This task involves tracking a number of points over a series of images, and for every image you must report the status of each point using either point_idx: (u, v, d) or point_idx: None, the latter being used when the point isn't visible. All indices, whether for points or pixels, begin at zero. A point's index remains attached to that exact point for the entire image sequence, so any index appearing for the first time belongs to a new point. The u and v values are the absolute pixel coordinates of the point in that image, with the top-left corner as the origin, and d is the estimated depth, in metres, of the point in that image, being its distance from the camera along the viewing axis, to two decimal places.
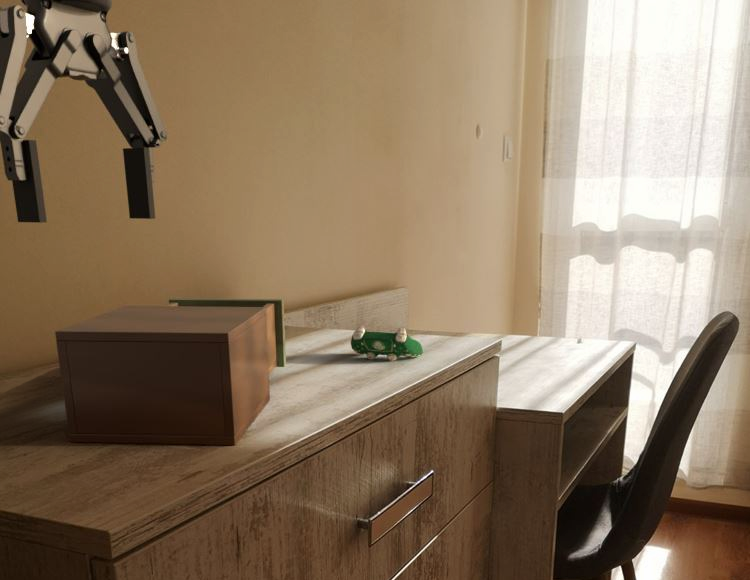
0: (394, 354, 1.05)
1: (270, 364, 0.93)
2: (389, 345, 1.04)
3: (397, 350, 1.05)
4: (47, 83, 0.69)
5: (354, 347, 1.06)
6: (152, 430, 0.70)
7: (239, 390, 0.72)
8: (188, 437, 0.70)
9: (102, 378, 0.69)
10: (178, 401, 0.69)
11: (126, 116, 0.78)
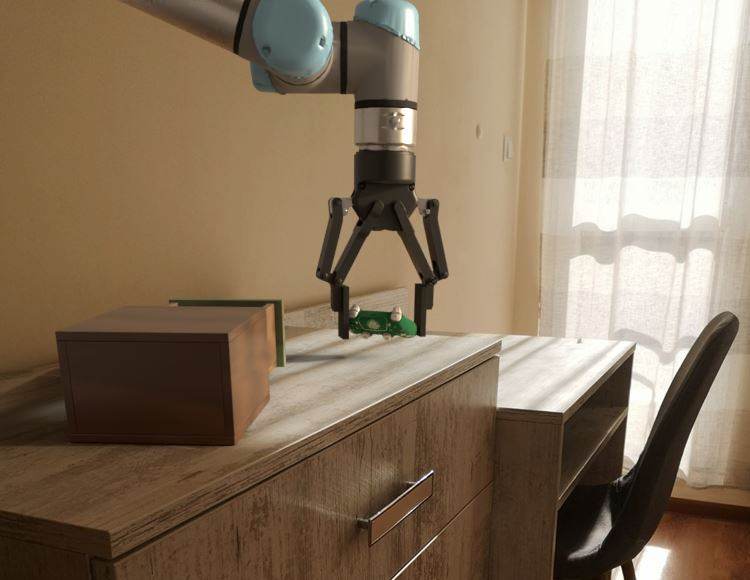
0: (388, 333, 1.04)
1: (270, 364, 0.93)
2: (384, 324, 1.03)
3: (392, 329, 1.04)
4: (359, 243, 1.01)
5: None
6: (152, 430, 0.70)
7: (239, 390, 0.72)
8: (188, 437, 0.70)
9: (102, 378, 0.69)
10: (178, 401, 0.69)
11: (415, 259, 1.04)
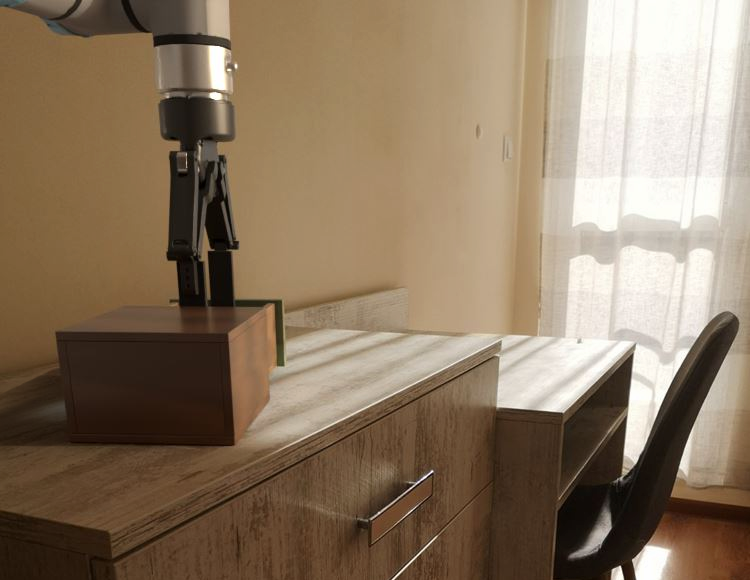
0: None
1: (270, 364, 0.93)
2: None
3: None
4: (204, 210, 0.82)
5: None
6: (152, 430, 0.70)
7: (239, 390, 0.72)
8: (188, 437, 0.70)
9: (102, 378, 0.69)
10: (178, 401, 0.69)
11: (221, 225, 0.91)
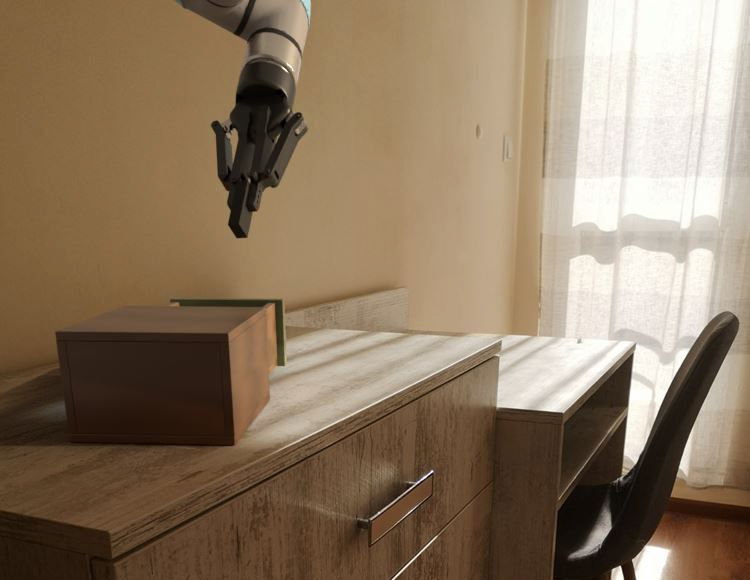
0: None
1: (271, 363, 0.93)
2: None
3: None
4: None
5: None
6: (152, 430, 0.70)
7: (239, 390, 0.72)
8: (188, 437, 0.70)
9: (102, 378, 0.69)
10: (178, 401, 0.69)
11: (248, 167, 1.05)
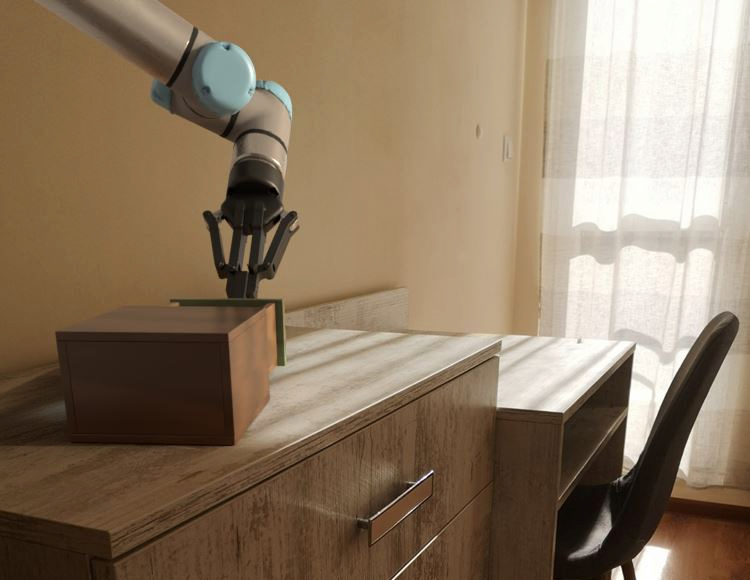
0: None
1: (271, 363, 0.93)
2: None
3: None
4: None
5: None
6: (152, 430, 0.70)
7: (239, 390, 0.72)
8: (188, 437, 0.70)
9: (102, 378, 0.69)
10: (178, 401, 0.69)
11: (242, 257, 1.07)
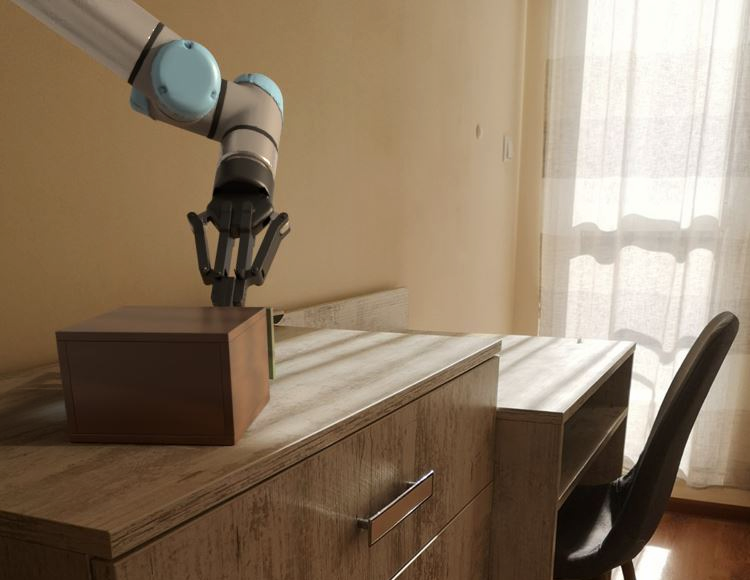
0: None
1: None
2: None
3: None
4: None
5: None
6: (152, 430, 0.70)
7: (239, 390, 0.72)
8: (188, 437, 0.70)
9: (102, 378, 0.69)
10: (178, 401, 0.69)
11: (229, 262, 1.00)
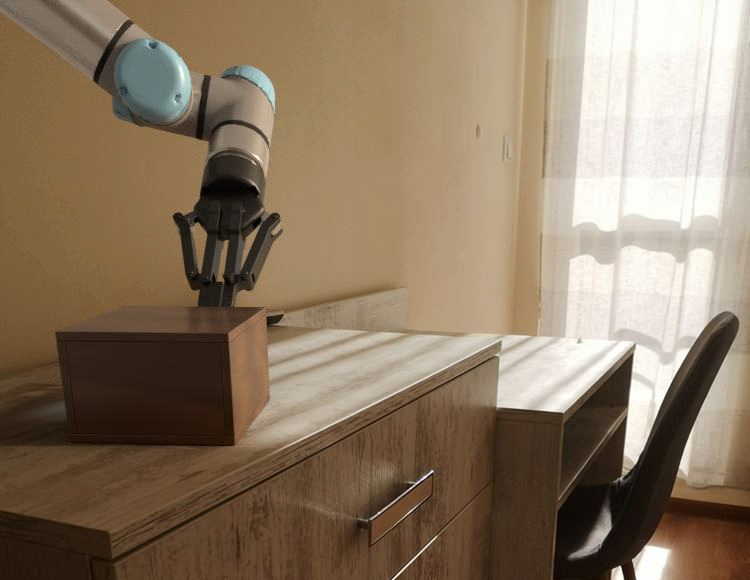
0: None
1: None
2: None
3: None
4: None
5: None
6: (152, 430, 0.70)
7: (239, 390, 0.72)
8: (188, 437, 0.70)
9: (102, 378, 0.69)
10: (178, 401, 0.69)
11: (217, 266, 0.95)
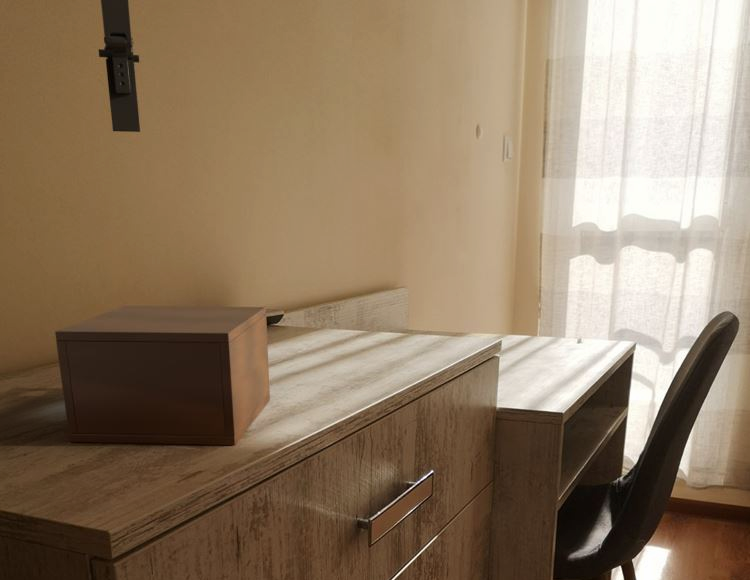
0: None
1: None
2: None
3: None
4: None
5: None
6: (152, 430, 0.70)
7: (239, 390, 0.72)
8: (188, 437, 0.70)
9: (102, 378, 0.69)
10: (178, 401, 0.69)
11: None
